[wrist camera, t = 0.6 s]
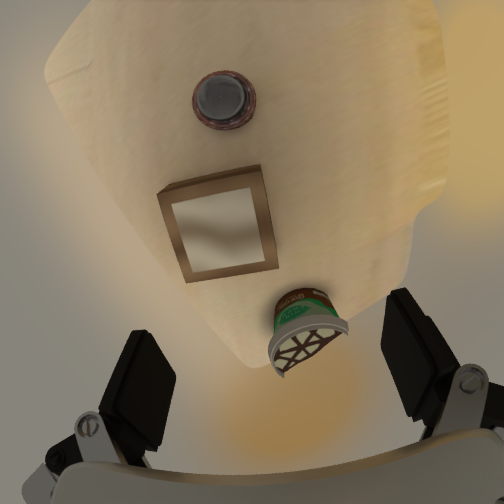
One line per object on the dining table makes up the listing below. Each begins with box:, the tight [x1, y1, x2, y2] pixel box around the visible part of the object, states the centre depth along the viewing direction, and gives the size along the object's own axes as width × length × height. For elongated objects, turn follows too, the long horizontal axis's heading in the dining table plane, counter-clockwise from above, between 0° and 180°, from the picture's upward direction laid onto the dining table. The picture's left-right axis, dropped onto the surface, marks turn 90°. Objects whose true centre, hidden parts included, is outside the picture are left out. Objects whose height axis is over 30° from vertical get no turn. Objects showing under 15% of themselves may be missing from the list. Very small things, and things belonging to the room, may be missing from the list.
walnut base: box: [156, 164, 279, 283], centre depth 34 cm, size 12×12×5 cm
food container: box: [268, 288, 348, 378], centre depth 38 cm, size 12×6×10 cm, turn 137°
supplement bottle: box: [192, 70, 256, 130], centre depth 24 cm, size 6×6×11 cm
